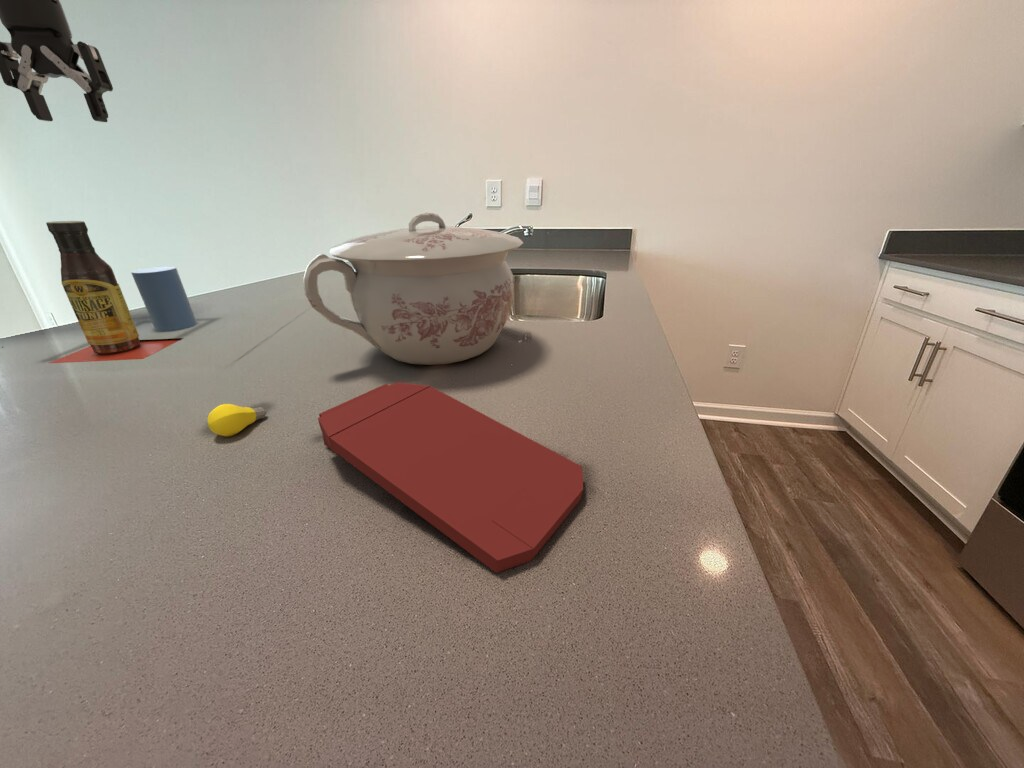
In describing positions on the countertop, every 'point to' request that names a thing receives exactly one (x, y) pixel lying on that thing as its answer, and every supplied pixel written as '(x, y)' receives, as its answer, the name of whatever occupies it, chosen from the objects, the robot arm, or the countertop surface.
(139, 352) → the board
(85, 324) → the sauce bottle
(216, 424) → the light bulb
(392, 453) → the red chamfered slab
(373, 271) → the chamber pot
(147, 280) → the blue can
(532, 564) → the countertop surface
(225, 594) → the countertop surface
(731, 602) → the countertop surface
